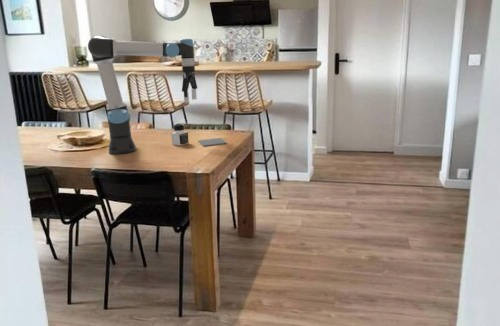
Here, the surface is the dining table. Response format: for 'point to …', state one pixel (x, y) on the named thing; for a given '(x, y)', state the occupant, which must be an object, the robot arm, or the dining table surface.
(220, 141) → the slate coaster
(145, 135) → the dining table surface
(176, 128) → the medicine bottle
